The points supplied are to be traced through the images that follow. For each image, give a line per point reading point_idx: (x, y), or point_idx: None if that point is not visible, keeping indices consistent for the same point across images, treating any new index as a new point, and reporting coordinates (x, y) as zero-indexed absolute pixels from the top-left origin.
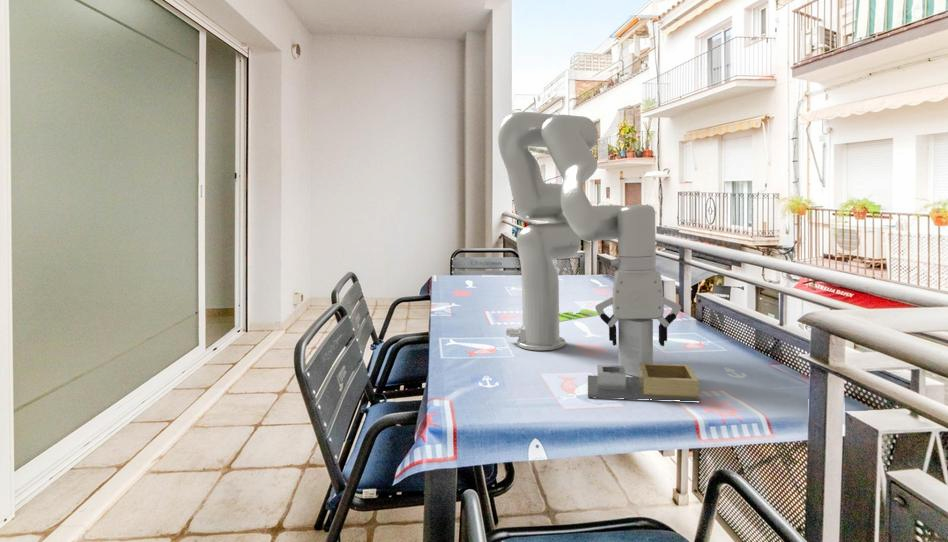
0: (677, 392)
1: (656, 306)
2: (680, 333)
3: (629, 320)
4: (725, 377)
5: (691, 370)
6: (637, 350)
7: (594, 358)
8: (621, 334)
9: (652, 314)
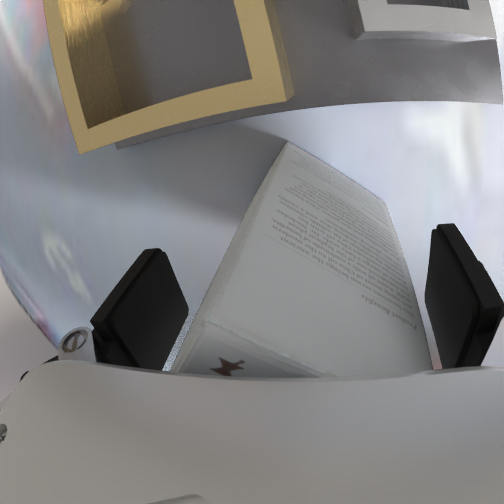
0: None
1: (5, 454)
2: None
3: None
4: (66, 227)
5: (61, 82)
6: (297, 198)
7: None
8: (407, 311)
9: (69, 394)
